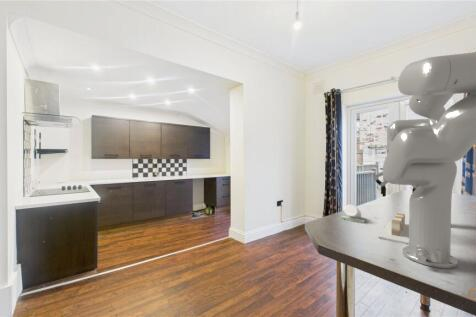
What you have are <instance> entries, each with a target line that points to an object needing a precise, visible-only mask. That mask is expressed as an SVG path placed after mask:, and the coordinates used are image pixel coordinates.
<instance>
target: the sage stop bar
mask: <svg viewBox="0 0 476 317" xmlns="http://www.w3.org/2000/svg"><path fill="white" fill-rule="evenodd" d="M340 219H341V220H344V219H345V221H349V220H350V221H351V222H354V221H355V222H356V223H360V224H365V223H366V220H365V219H362V218H352V217H349V216H348V215H347V216H345V215H341V216H340Z"/></svg>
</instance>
